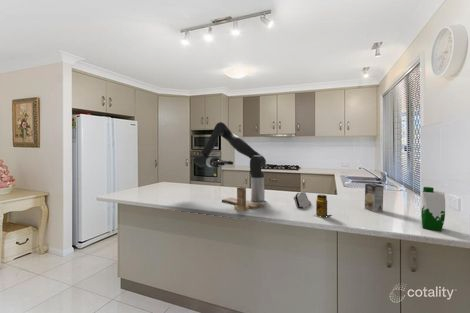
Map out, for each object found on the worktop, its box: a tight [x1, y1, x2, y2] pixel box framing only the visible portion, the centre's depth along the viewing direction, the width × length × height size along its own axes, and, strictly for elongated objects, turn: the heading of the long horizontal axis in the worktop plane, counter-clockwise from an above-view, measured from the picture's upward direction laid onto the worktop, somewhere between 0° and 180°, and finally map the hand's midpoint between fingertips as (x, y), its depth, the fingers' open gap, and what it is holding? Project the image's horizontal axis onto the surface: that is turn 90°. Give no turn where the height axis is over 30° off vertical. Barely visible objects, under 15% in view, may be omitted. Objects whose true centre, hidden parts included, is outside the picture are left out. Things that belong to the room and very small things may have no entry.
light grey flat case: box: [293, 191, 312, 209], centre depth 170 cm, size 17×5×10 cm, turn 147°
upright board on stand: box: [233, 186, 250, 212], centre depth 161 cm, size 6×7×14 cm
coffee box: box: [364, 183, 385, 213], centre depth 157 cm, size 9×6×16 cm
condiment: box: [315, 194, 328, 218], centre depth 146 cm, size 7×8×12 cm
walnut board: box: [221, 197, 264, 210], centre depth 174 cm, size 10×30×2 cm, turn 46°
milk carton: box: [421, 186, 446, 233], centre depth 123 cm, size 9×9×20 cm
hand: (228, 163), depth 176 cm, fingers open, 8 cm apart
